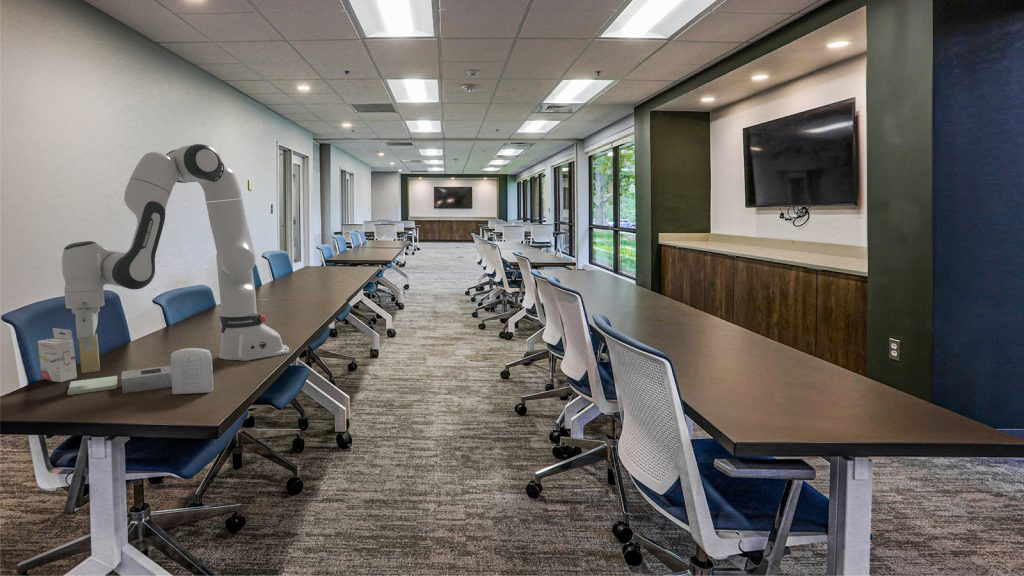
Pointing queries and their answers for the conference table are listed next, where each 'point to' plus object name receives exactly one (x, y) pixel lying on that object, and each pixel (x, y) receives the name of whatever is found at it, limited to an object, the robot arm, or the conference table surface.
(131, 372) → the grey block with holes
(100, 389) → the sage mat
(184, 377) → the photo printer
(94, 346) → the brass peg
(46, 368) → the ink cartridge box
